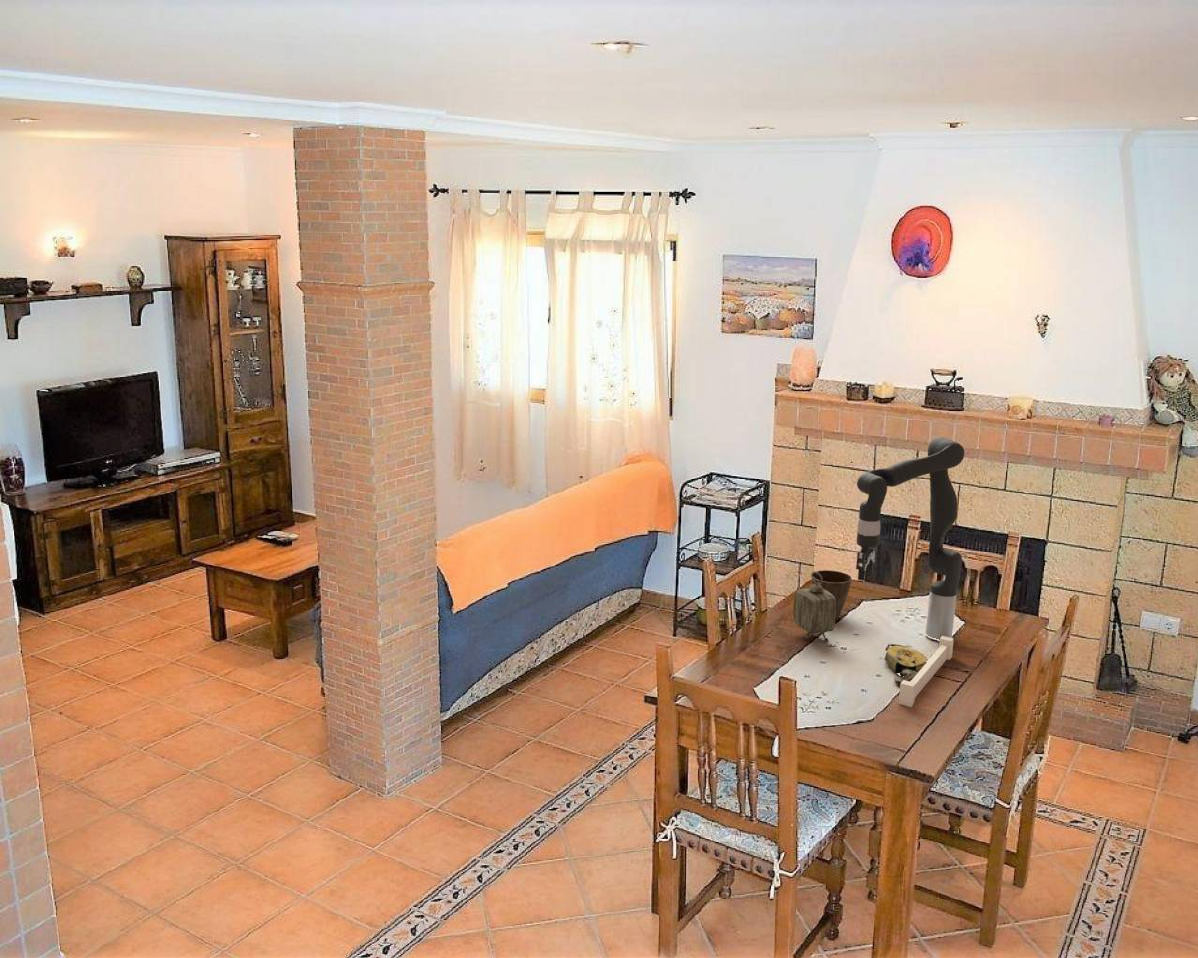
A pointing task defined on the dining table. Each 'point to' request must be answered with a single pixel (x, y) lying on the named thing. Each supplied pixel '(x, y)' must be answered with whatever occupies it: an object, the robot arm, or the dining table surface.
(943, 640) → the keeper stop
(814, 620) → the tabletop clock
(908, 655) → the pulley block
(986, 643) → the dining table surface
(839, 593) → the plant pot
